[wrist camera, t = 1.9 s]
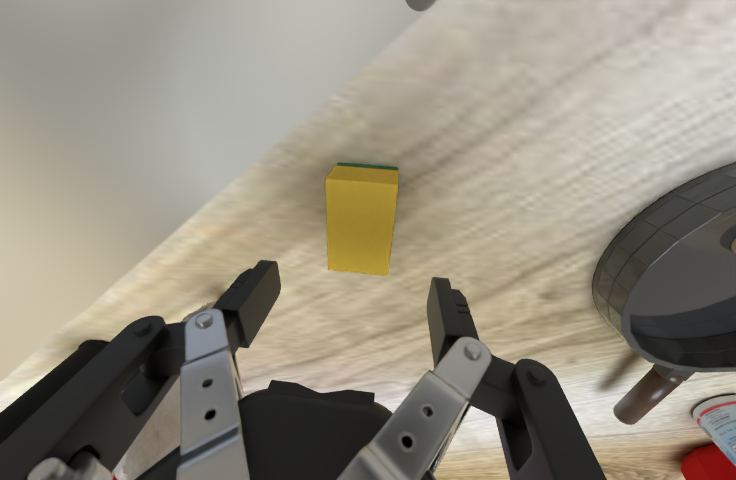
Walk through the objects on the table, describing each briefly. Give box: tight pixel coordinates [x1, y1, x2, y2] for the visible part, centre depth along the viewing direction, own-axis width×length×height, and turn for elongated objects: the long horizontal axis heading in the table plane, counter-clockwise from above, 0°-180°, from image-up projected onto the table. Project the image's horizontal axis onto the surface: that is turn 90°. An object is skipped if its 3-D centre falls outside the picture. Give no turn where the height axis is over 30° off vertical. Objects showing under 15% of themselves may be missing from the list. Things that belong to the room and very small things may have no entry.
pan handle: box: [613, 364, 695, 425], centre depth 25 cm, size 9×2×2 cm, turn 177°
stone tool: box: [114, 302, 215, 480], centre depth 23 cm, size 9×3×15 cm, turn 8°
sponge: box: [325, 163, 398, 276], centre depth 19 cm, size 7×4×4 cm, turn 177°
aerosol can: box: [0, 340, 141, 444], centre depth 28 cm, size 8×8×20 cm
